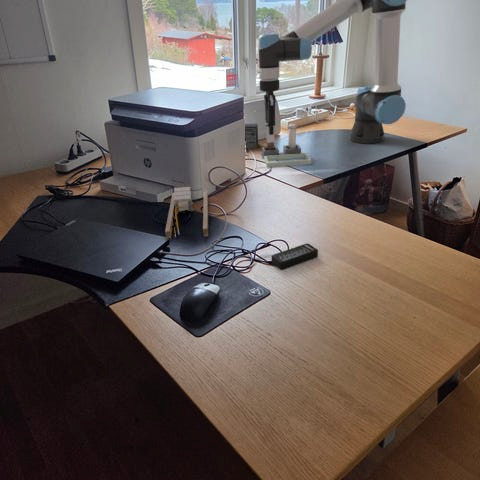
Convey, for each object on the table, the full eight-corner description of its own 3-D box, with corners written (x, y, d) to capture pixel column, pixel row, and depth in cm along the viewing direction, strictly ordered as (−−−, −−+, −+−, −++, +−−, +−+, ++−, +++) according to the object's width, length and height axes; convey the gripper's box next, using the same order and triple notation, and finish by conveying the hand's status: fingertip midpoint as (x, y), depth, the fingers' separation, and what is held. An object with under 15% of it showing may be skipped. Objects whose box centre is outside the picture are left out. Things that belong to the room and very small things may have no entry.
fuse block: (298, 153, 177) (298, 144, 175) (302, 158, 171) (302, 149, 169) (260, 156, 177) (260, 146, 175) (262, 161, 170) (262, 151, 169)
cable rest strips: (207, 197, 140) (207, 190, 139) (208, 236, 115) (207, 228, 114) (173, 199, 139) (172, 192, 138) (166, 239, 115) (165, 231, 113)
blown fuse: (274, 152, 174) (273, 123, 169) (275, 155, 172) (274, 125, 166) (266, 153, 174) (265, 124, 169) (267, 155, 171) (266, 126, 166)
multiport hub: (270, 263, 102) (270, 255, 101) (307, 250, 106) (307, 242, 105) (281, 271, 98) (281, 263, 97) (318, 258, 103) (318, 249, 102)
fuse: (295, 153, 175) (295, 123, 169) (296, 155, 172) (297, 125, 166) (287, 153, 175) (287, 124, 169) (288, 155, 172) (288, 126, 166)
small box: (258, 146, 190) (258, 122, 185) (257, 150, 184) (257, 126, 180) (235, 146, 191) (234, 123, 186) (233, 150, 186) (232, 126, 181)
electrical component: (196, 245, 118) (194, 231, 115) (174, 247, 117) (172, 233, 114) (192, 197, 136) (191, 184, 133) (174, 199, 136) (172, 186, 133)
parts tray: (306, 159, 170) (306, 153, 169) (311, 166, 162) (311, 160, 161) (264, 162, 170) (264, 155, 168) (267, 169, 162) (266, 163, 160)
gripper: (257, 77, 166) (259, 136, 177) (261, 83, 152) (263, 147, 163) (276, 75, 166) (276, 135, 178) (282, 81, 152) (282, 145, 163)
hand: (270, 140), depth 170 cm, fingers closed on blown fuse, 3 cm apart
